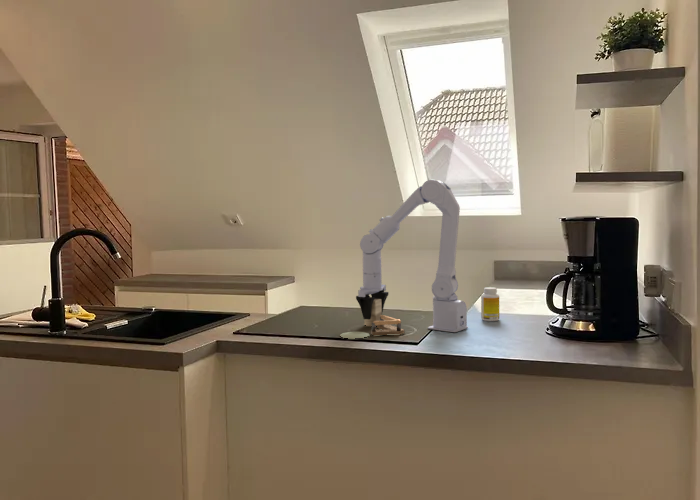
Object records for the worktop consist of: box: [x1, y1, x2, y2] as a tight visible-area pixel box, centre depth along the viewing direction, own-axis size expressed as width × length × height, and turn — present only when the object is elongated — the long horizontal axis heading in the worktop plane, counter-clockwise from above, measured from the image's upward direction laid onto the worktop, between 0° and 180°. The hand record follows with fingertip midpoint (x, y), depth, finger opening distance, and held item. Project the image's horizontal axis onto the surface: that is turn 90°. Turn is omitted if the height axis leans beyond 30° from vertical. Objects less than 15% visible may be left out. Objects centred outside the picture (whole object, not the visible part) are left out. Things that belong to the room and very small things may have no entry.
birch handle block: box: [363, 299, 383, 327], centre depth 181 cm, size 4×4×8 cm
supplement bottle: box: [480, 286, 500, 322], centre depth 185 cm, size 6×6×10 cm
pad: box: [339, 331, 370, 340], centre depth 166 cm, size 8×8×1 cm
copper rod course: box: [370, 314, 405, 336], centre depth 170 cm, size 12×12×4 cm
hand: (372, 316), depth 181 cm, fingers open, 7 cm apart
